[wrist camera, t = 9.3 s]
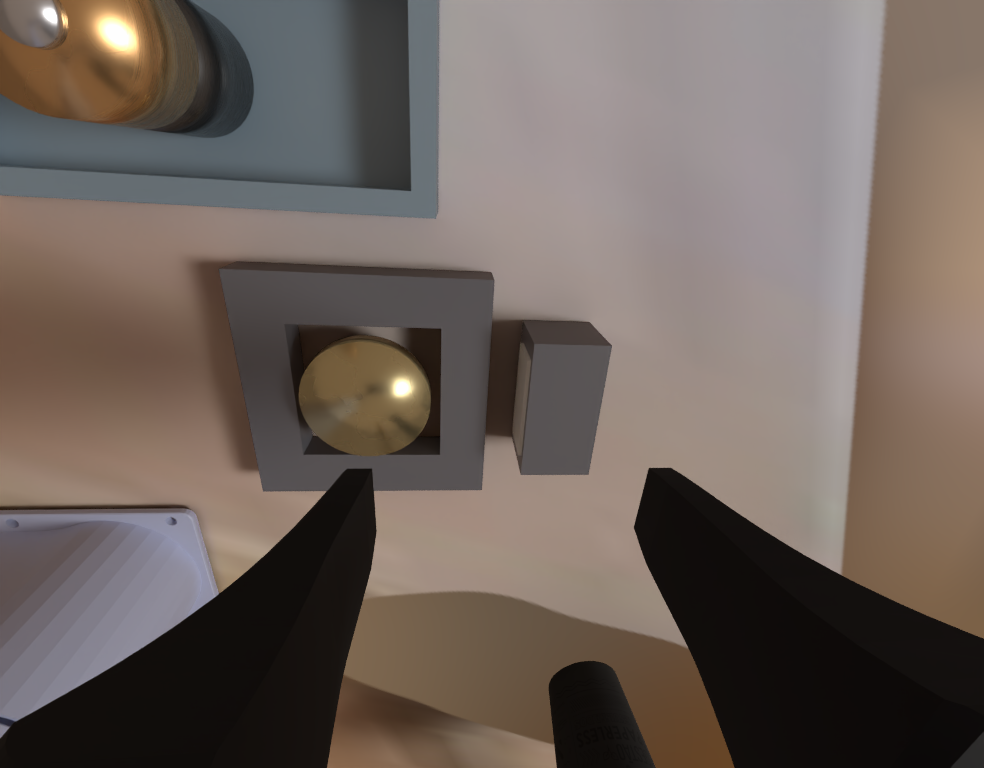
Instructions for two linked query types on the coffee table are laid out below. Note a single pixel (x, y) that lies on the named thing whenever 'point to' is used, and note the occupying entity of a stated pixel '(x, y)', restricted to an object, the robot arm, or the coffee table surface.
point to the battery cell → (125, 64)
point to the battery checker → (464, 374)
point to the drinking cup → (594, 720)
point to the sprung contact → (365, 396)
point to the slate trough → (270, 122)
